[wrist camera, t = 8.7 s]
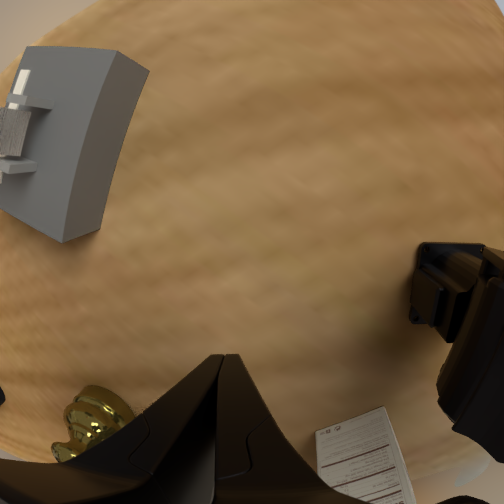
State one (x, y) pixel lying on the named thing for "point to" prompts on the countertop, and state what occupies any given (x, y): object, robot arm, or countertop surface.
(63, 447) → the salt shaker
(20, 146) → the switch lever
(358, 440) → the supplement box
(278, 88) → the countertop surface
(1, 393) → the black bottle
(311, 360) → the countertop surface
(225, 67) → the countertop surface
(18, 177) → the switch box
